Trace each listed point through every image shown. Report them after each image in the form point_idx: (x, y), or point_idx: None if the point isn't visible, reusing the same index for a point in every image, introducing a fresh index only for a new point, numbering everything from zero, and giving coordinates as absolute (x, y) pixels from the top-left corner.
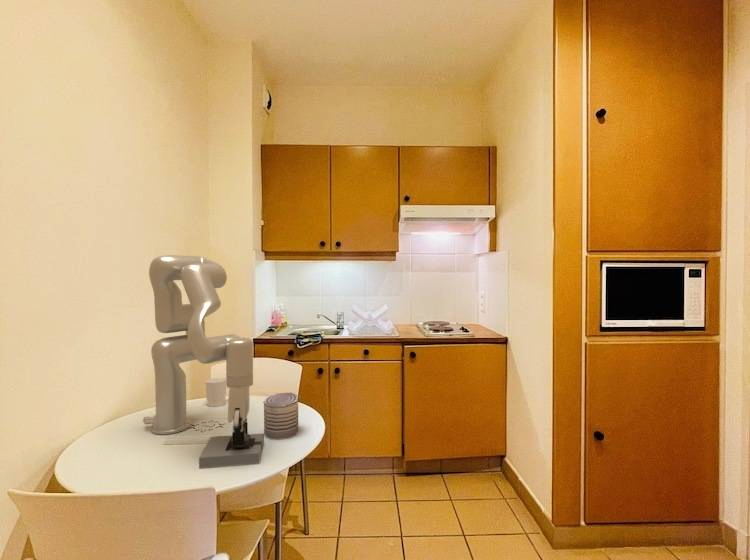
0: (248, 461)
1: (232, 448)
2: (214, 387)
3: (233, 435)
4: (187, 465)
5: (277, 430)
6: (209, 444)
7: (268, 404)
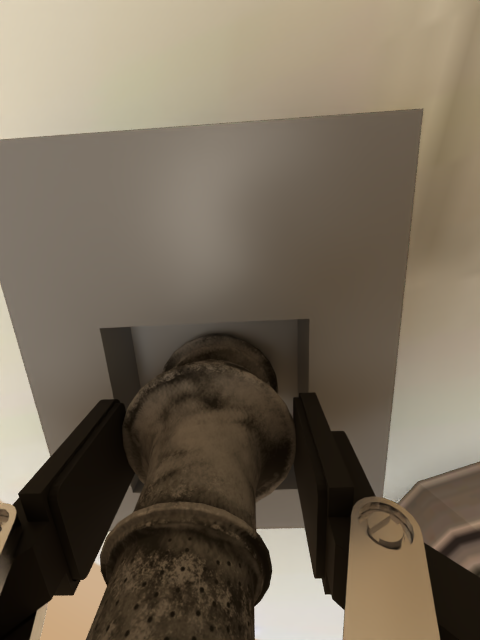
0: None
1: (231, 340)
2: None
3: (52, 467)
4: (68, 47)
5: None
6: (233, 154)
7: None
